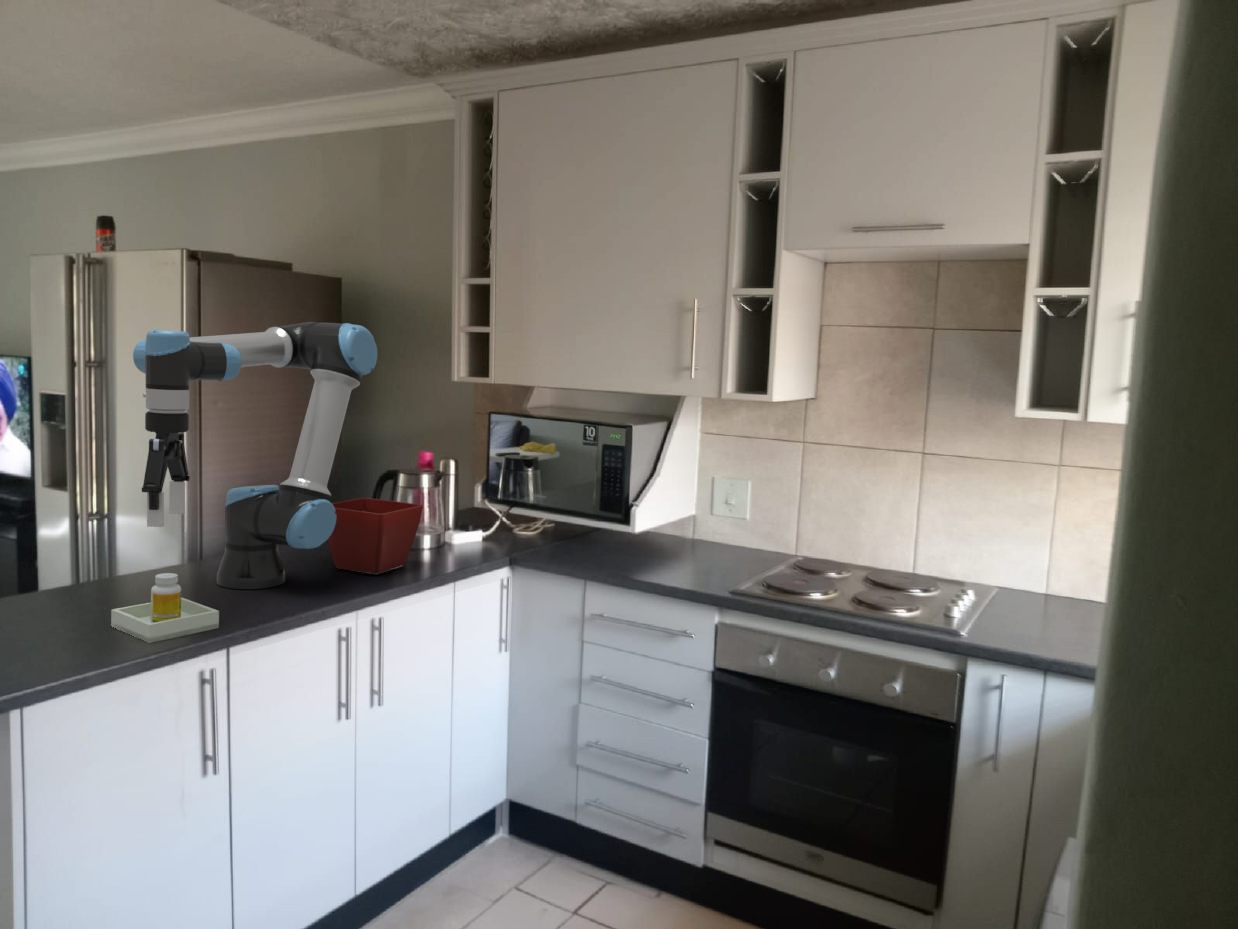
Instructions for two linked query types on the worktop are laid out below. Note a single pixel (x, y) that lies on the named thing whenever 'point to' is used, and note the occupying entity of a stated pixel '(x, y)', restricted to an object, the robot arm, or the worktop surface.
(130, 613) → the tray
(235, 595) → the worktop surface
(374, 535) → the plant pot
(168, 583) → the supplement bottle
